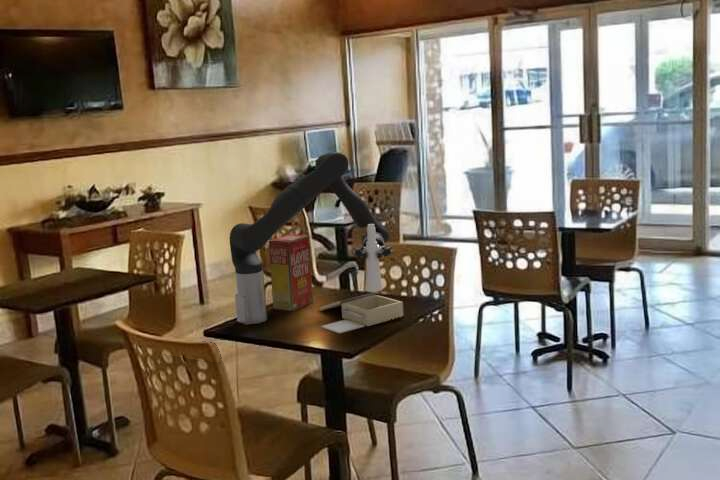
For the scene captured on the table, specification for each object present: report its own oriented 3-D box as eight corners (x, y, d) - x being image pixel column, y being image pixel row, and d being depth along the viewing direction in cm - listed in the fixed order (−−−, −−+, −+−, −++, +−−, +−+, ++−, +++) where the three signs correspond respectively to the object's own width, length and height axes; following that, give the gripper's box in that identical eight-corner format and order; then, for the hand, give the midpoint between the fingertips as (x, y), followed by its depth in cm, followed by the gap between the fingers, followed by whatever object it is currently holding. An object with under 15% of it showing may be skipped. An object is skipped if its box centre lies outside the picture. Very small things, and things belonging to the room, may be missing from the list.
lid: (319, 307, 272) (320, 309, 272) (339, 300, 261) (340, 303, 261) (352, 299, 280) (353, 301, 280) (373, 292, 270) (374, 294, 270)
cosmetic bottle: (378, 286, 262) (375, 222, 258) (386, 290, 257) (383, 224, 253) (362, 288, 260) (358, 224, 256) (369, 292, 255) (366, 226, 251)
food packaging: (293, 311, 273) (287, 241, 268) (271, 309, 278) (266, 240, 273) (314, 302, 284) (310, 234, 279) (293, 299, 289) (288, 233, 284)
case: (365, 326, 249) (364, 309, 248) (338, 318, 261) (336, 301, 260) (403, 316, 259) (402, 299, 258) (375, 308, 271) (374, 291, 270)
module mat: (339, 333, 244) (339, 332, 244) (321, 327, 252) (321, 326, 252) (364, 326, 250) (364, 325, 250) (346, 320, 258) (346, 319, 258)
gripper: (352, 236, 270) (349, 245, 253) (393, 234, 269) (393, 243, 252) (353, 257, 271) (350, 267, 254) (394, 256, 271) (394, 266, 254)
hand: (372, 255), depth 253 cm, fingers closed on cosmetic bottle, 4 cm apart
